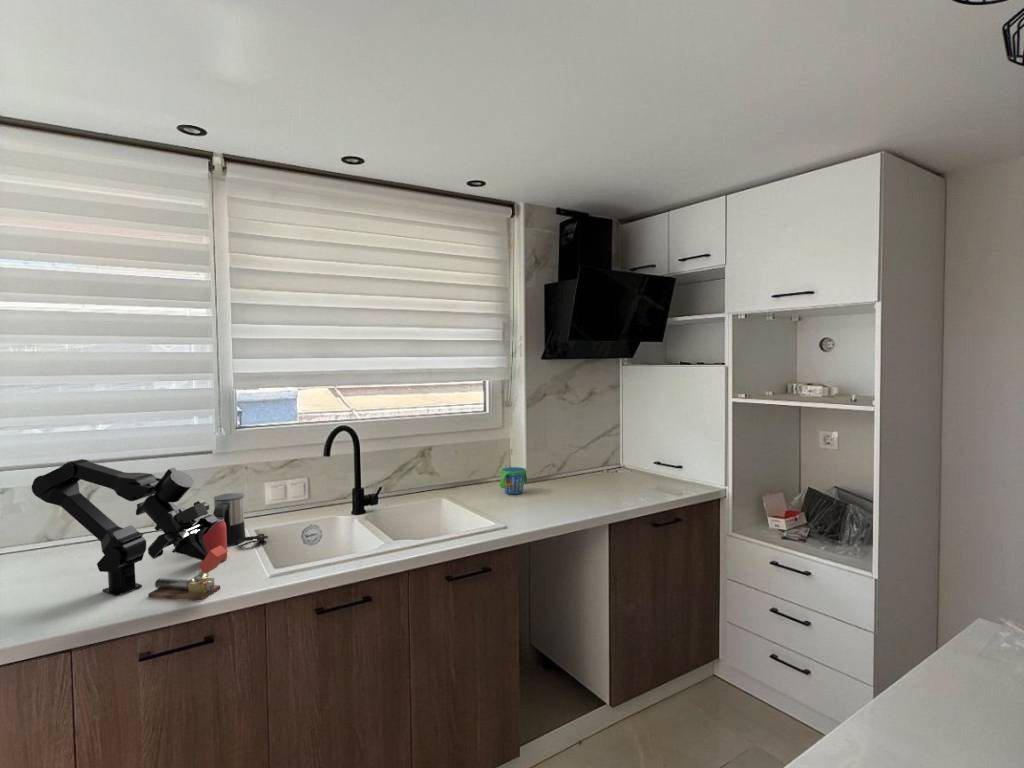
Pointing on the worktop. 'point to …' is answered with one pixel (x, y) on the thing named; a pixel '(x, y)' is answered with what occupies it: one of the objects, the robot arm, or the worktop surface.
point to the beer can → (216, 537)
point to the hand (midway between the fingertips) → (207, 559)
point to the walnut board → (180, 594)
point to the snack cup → (513, 480)
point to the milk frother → (233, 517)
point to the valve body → (186, 585)
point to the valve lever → (210, 562)
